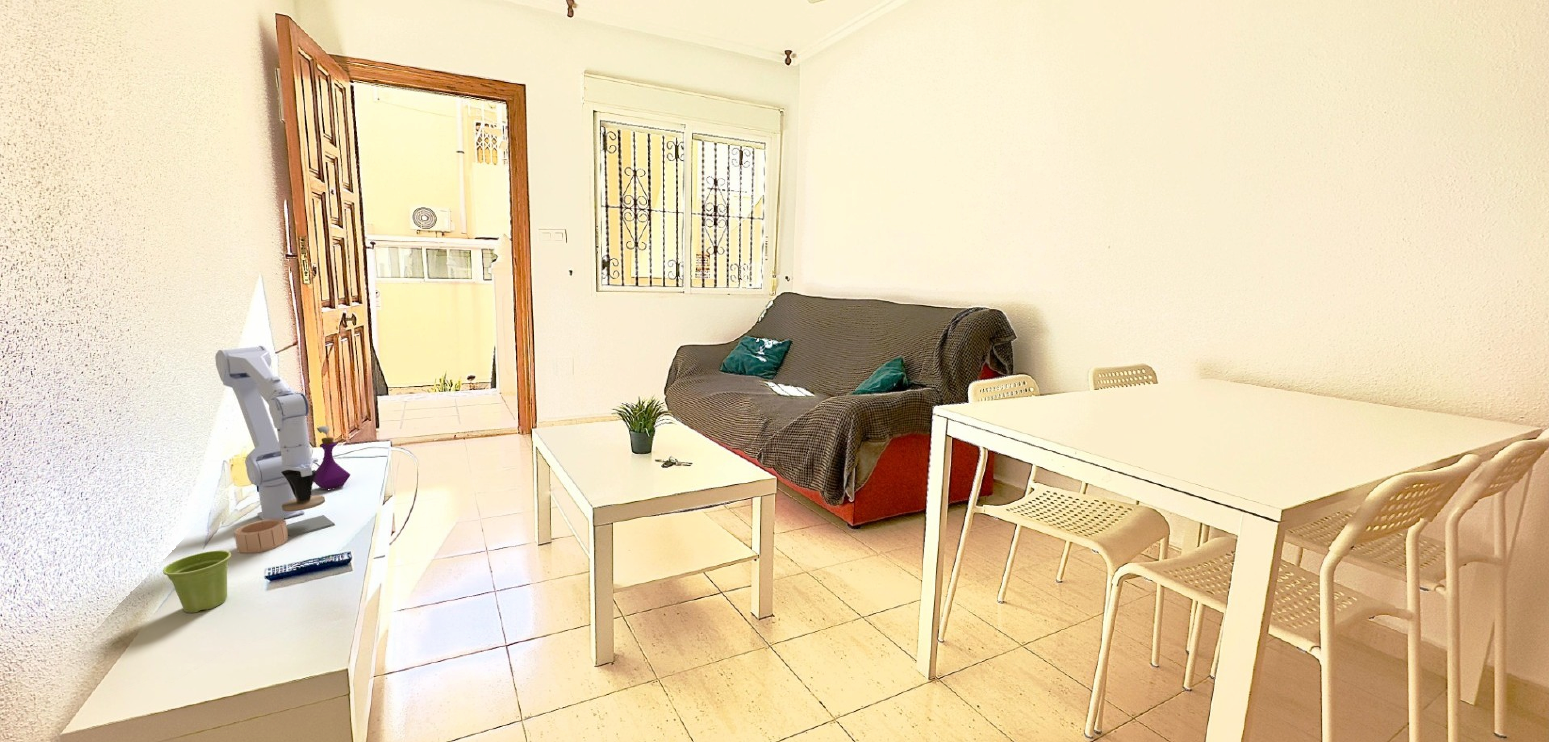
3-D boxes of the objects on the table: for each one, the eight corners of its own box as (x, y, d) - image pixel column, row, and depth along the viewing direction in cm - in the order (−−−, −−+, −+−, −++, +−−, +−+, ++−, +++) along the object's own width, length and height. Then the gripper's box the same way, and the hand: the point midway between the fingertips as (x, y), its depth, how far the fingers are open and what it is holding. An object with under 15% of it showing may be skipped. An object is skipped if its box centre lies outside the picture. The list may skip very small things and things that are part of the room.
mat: (280, 527, 155) (279, 526, 155) (323, 516, 162) (323, 514, 162) (289, 537, 149) (289, 535, 149) (334, 525, 156) (334, 523, 156)
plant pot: (198, 620, 114) (190, 575, 112) (157, 616, 116) (148, 571, 114) (251, 594, 123) (243, 551, 122) (212, 590, 125) (204, 548, 123)
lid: (278, 506, 154) (275, 487, 154) (319, 496, 161) (316, 477, 160) (287, 513, 149) (284, 494, 148) (329, 503, 155) (326, 484, 154)
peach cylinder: (233, 546, 145) (230, 528, 144) (282, 533, 152) (279, 515, 151) (242, 557, 139) (239, 538, 139) (292, 543, 146) (289, 524, 145)
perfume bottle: (352, 485, 185) (343, 425, 182) (323, 493, 179) (314, 431, 176) (340, 481, 189) (331, 422, 186) (311, 489, 183) (302, 428, 180)
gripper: (323, 445, 150) (331, 500, 153) (306, 436, 160) (313, 487, 162) (287, 452, 145) (296, 509, 147) (271, 442, 155) (279, 495, 157)
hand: (303, 498), depth 154 cm, fingers closed on lid, 3 cm apart
